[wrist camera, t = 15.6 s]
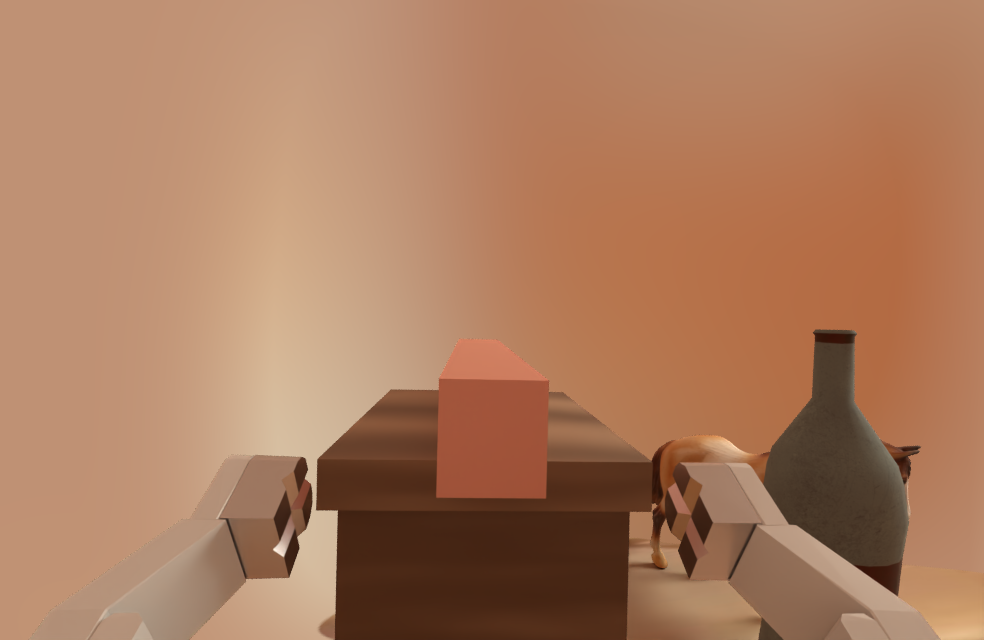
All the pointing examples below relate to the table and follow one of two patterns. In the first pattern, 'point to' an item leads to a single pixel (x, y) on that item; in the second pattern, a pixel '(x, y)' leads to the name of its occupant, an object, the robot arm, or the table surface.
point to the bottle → (839, 473)
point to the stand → (480, 533)
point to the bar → (491, 424)
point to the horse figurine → (723, 452)
